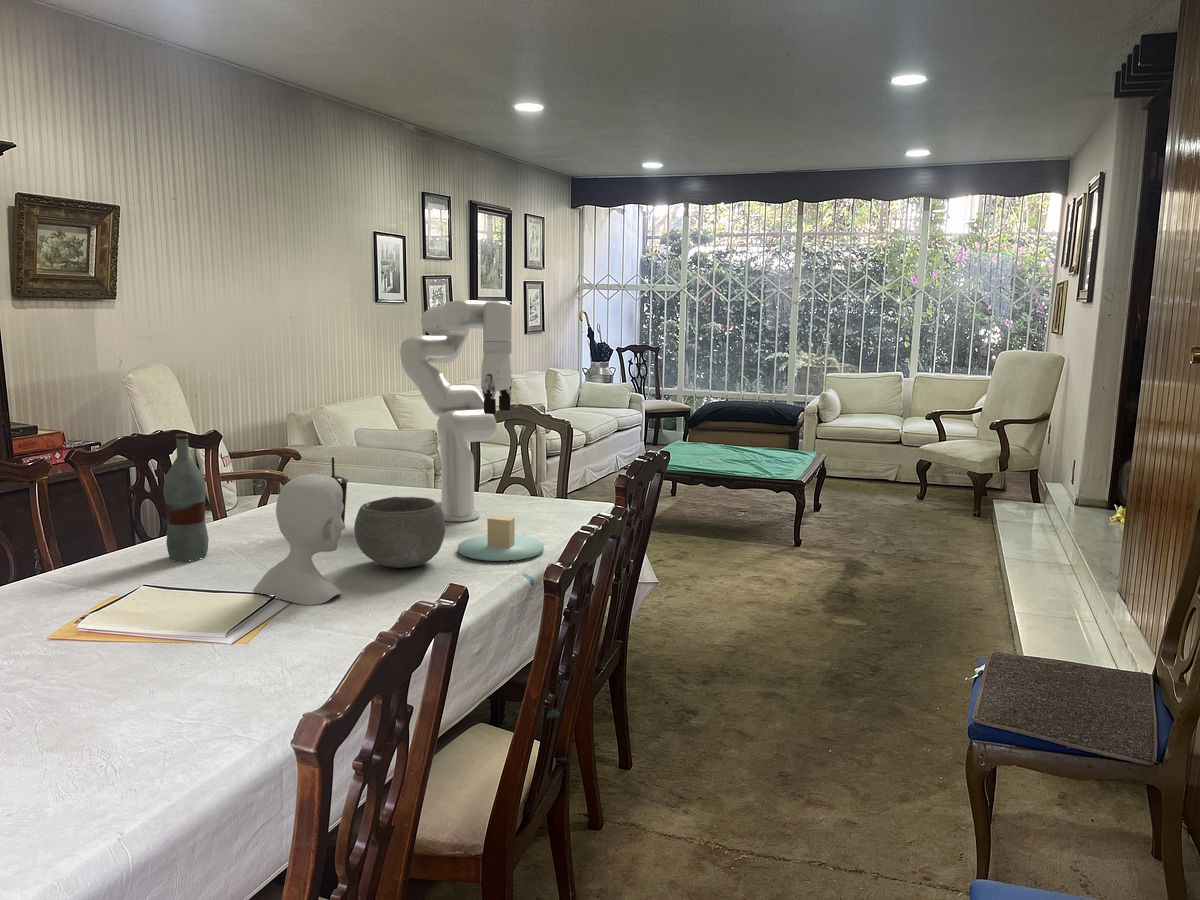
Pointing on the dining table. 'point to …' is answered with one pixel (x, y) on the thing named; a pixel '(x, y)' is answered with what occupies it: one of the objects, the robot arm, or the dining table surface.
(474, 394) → the robot arm
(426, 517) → the bowl
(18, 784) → the dining table surface
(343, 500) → the walkie talkie
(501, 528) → the lid
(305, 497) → the head bust
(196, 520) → the bottle
